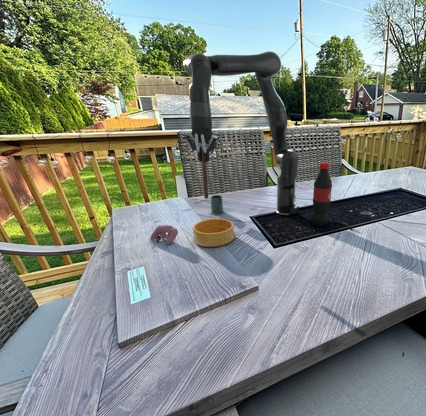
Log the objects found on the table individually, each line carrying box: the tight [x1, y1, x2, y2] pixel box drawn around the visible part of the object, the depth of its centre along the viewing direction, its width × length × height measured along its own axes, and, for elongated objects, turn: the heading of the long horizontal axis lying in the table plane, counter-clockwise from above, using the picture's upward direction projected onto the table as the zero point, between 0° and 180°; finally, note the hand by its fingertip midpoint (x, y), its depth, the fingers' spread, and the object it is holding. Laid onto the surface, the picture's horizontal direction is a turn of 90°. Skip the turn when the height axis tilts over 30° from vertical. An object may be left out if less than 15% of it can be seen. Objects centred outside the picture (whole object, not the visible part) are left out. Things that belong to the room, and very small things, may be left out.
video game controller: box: [150, 224, 179, 245], centre depth 104 cm, size 10×5×7 cm, turn 71°
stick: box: [201, 149, 209, 199], centre depth 105 cm, size 2×2×20 cm
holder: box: [209, 194, 224, 215], centre depth 133 cm, size 6×6×9 cm
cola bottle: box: [311, 162, 333, 228], centre depth 122 cm, size 8×8×30 cm
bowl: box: [192, 218, 235, 248], centre depth 106 cm, size 15×15×6 cm
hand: (203, 161), depth 103 cm, fingers closed on stick, 1 cm apart
